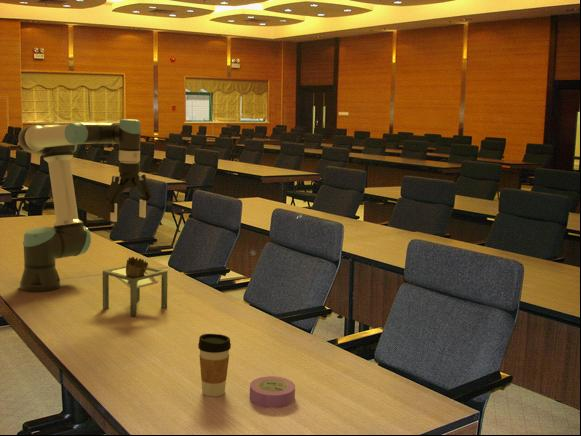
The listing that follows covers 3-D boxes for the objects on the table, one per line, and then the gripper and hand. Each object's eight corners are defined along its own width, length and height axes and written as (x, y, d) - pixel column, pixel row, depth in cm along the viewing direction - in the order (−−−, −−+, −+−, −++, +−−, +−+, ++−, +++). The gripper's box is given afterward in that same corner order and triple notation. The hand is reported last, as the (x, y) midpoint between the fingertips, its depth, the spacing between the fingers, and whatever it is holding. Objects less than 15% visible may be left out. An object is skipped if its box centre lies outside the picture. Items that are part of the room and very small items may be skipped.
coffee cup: (198, 385, 182) (199, 331, 179) (229, 385, 182) (231, 332, 180) (196, 398, 173) (197, 342, 171) (229, 398, 174) (231, 342, 172)
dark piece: (138, 288, 237) (143, 268, 234) (118, 281, 237) (123, 261, 235) (146, 281, 244) (151, 261, 242) (127, 274, 244) (132, 254, 242)
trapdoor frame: (102, 308, 245) (102, 270, 243) (136, 299, 258) (137, 263, 256) (133, 317, 236) (133, 278, 234) (167, 307, 249) (167, 270, 247)
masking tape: (296, 409, 170) (297, 394, 170) (250, 408, 169) (250, 394, 169) (292, 389, 182) (293, 376, 181) (249, 389, 181) (249, 376, 180)
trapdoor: (110, 273, 243) (111, 271, 243) (136, 267, 253) (136, 265, 253) (132, 289, 238) (132, 287, 237) (157, 283, 247) (158, 280, 247)
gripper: (108, 164, 235) (107, 224, 239) (162, 161, 255) (160, 217, 259) (94, 162, 239) (94, 221, 243) (148, 159, 259) (147, 214, 263)
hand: (128, 219), depth 251 cm, fingers open, 13 cm apart
